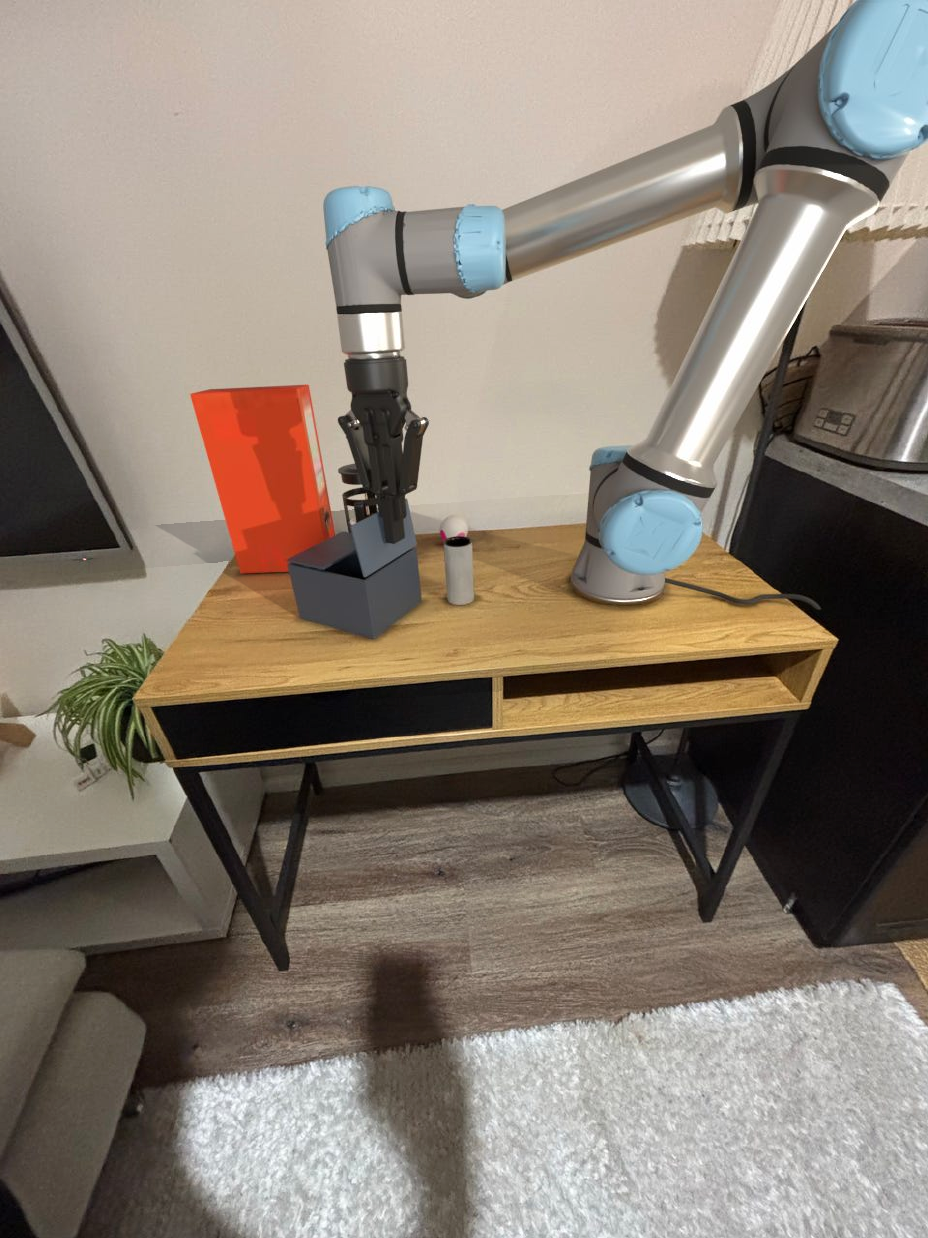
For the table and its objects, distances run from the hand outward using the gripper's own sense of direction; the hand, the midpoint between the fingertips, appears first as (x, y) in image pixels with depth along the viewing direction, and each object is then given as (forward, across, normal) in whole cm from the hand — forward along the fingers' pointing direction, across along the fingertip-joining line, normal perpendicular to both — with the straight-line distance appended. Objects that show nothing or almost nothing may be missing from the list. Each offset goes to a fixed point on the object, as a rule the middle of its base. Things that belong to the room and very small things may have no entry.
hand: (395, 539), depth 74 cm
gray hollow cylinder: (+14, -4, -10) cm, 18 cm away
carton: (+14, +9, 0) cm, 16 cm away
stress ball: (+14, +10, -31) cm, 35 cm away
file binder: (+14, +34, -9) cm, 37 cm away
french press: (+14, +22, -21) cm, 34 cm away
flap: (0, +2, 0) cm, 2 cm away
